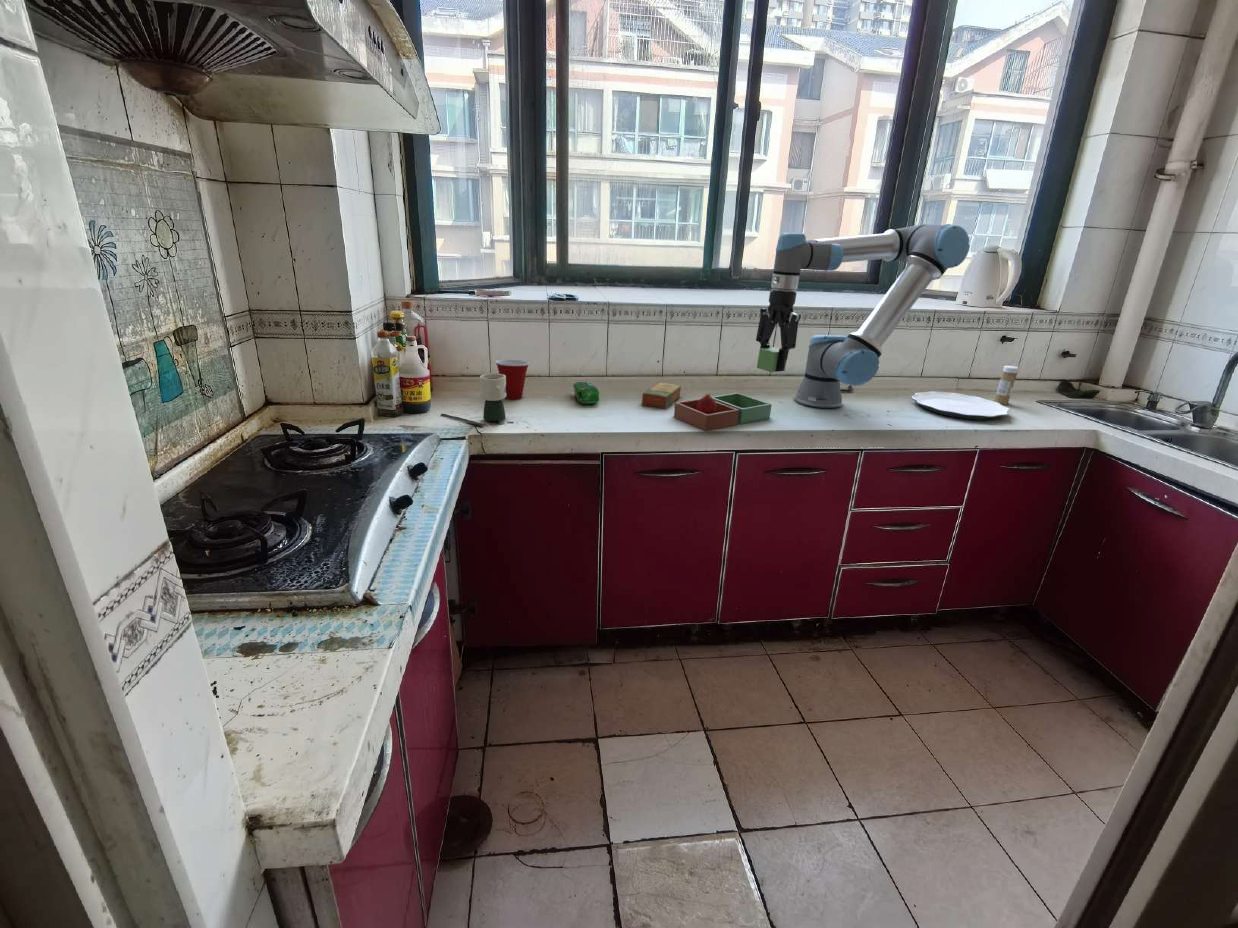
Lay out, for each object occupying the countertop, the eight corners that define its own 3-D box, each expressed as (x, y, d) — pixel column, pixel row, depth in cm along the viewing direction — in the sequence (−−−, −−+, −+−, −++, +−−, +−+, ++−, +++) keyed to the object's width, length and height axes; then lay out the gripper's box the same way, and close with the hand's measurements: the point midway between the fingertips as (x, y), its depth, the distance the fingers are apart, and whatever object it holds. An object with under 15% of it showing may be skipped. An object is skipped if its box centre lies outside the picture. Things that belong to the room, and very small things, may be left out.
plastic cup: (534, 394, 198) (534, 359, 193) (522, 403, 188) (522, 365, 183) (504, 391, 200) (503, 356, 195) (491, 399, 190) (489, 362, 185)
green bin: (736, 406, 195) (738, 392, 194) (769, 418, 184) (771, 404, 182) (708, 411, 189) (709, 397, 187) (740, 424, 178) (742, 409, 176)
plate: (967, 426, 185) (969, 419, 184) (892, 401, 210) (894, 394, 209) (1027, 418, 197) (1029, 411, 196) (949, 395, 221) (951, 389, 221)
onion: (714, 422, 176) (717, 396, 173) (695, 420, 177) (697, 394, 174) (715, 417, 181) (718, 391, 178) (696, 415, 182) (699, 389, 179)
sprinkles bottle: (1011, 404, 212) (1022, 368, 207) (1000, 405, 211) (1011, 368, 206) (1000, 401, 216) (1011, 365, 211) (990, 401, 215) (1001, 365, 210)
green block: (769, 366, 184) (773, 347, 182) (784, 371, 180) (788, 351, 177) (756, 367, 181) (759, 348, 179) (771, 372, 176) (774, 352, 174)
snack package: (592, 393, 202) (593, 378, 200) (600, 406, 188) (601, 390, 186) (572, 393, 201) (572, 378, 199) (578, 406, 187) (578, 390, 185)
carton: (680, 397, 203) (681, 385, 201) (665, 409, 189) (666, 396, 187) (657, 393, 205) (658, 381, 204) (641, 405, 191) (642, 392, 190)
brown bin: (704, 411, 188) (706, 397, 186) (737, 424, 177) (739, 409, 175) (673, 416, 181) (674, 402, 179) (705, 430, 170) (707, 415, 168)
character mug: (513, 424, 168) (512, 379, 163) (489, 427, 165) (487, 381, 160) (499, 413, 177) (498, 370, 172) (476, 416, 173) (474, 372, 168)
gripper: (750, 286, 177) (740, 362, 185) (801, 294, 162) (787, 376, 171) (767, 286, 181) (756, 361, 189) (818, 294, 167) (804, 374, 175)
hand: (771, 368), depth 180 cm, fingers closed on green block, 6 cm apart
